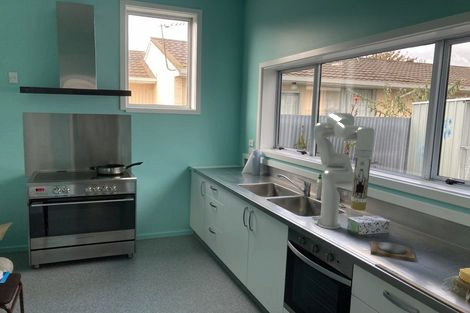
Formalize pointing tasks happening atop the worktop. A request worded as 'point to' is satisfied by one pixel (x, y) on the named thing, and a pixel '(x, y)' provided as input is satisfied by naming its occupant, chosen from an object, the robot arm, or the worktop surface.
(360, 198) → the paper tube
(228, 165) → the worktop surface
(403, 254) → the brown tray
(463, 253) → the worktop surface
